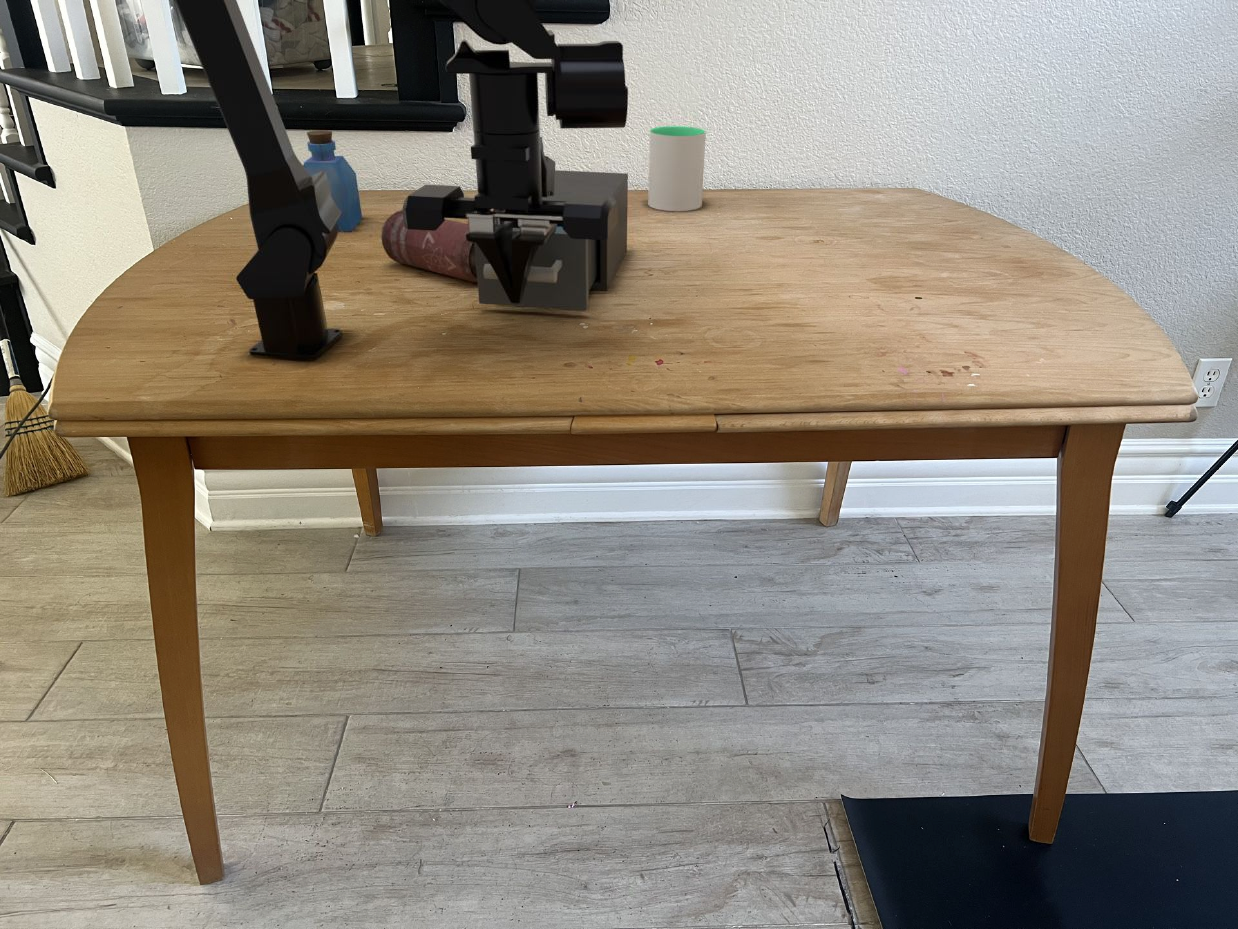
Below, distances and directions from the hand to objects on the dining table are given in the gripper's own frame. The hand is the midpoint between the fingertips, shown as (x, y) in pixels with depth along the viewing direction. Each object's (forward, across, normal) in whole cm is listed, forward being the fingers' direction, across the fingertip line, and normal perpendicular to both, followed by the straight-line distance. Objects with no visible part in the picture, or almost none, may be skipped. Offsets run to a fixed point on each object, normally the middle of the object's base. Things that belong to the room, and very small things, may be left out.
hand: (516, 302), depth 82 cm
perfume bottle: (+4, +35, -34) cm, 49 cm away
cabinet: (+4, 0, -22) cm, 22 cm away
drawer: (+3, 0, -10) cm, 11 cm away
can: (+1, +20, -21) cm, 29 cm away
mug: (+4, -9, -56) cm, 57 cm away
